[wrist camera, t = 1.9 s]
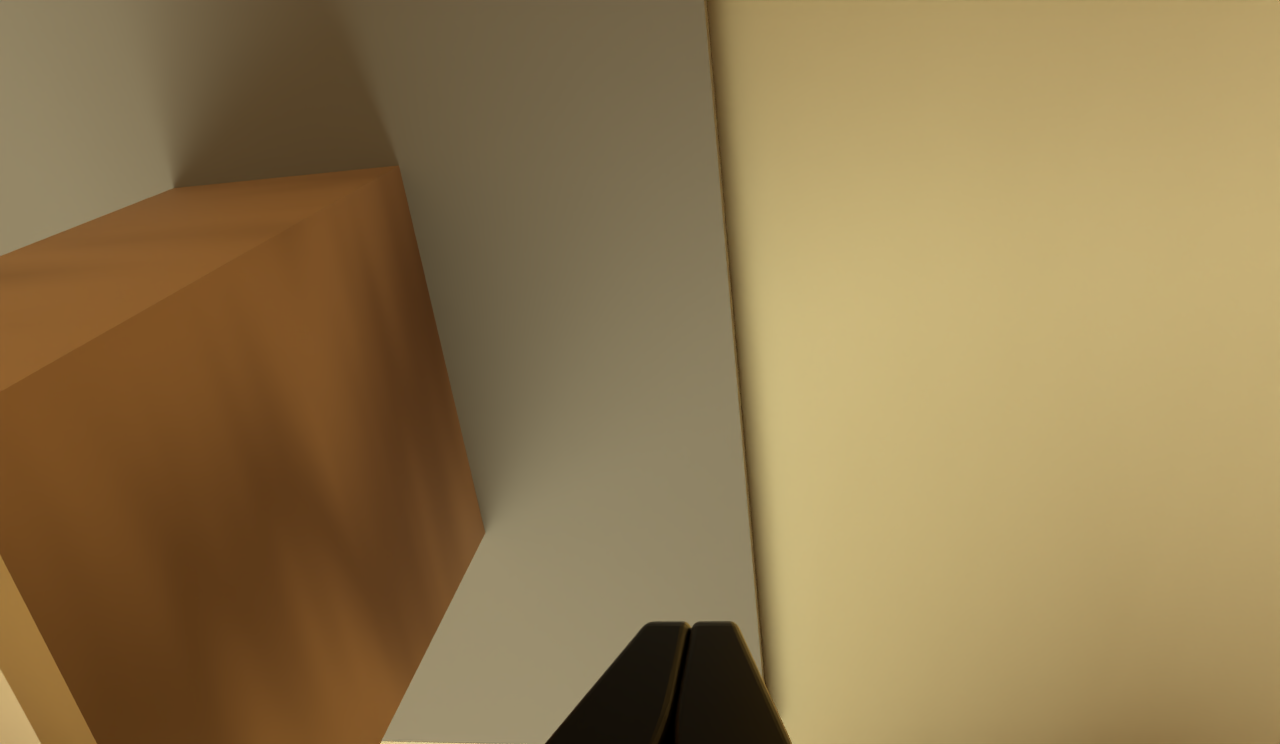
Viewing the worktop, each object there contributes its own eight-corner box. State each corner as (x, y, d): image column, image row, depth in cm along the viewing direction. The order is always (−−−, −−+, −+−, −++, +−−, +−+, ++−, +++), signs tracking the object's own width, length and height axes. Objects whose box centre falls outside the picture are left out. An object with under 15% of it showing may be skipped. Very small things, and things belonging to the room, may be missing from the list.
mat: (768, 730, 19) (768, 749, 18) (-103, 714, 23) (-121, 730, 22) (680, -313, 11) (676, -324, 11) (-594, -69, 15) (-636, -70, 15)
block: (485, 532, 17) (218, 1067, 9) (292, 537, 18) (-118, 1035, 9) (399, 165, 14) (-116, 458, 6) (173, 187, 15) (-561, 476, 7)
